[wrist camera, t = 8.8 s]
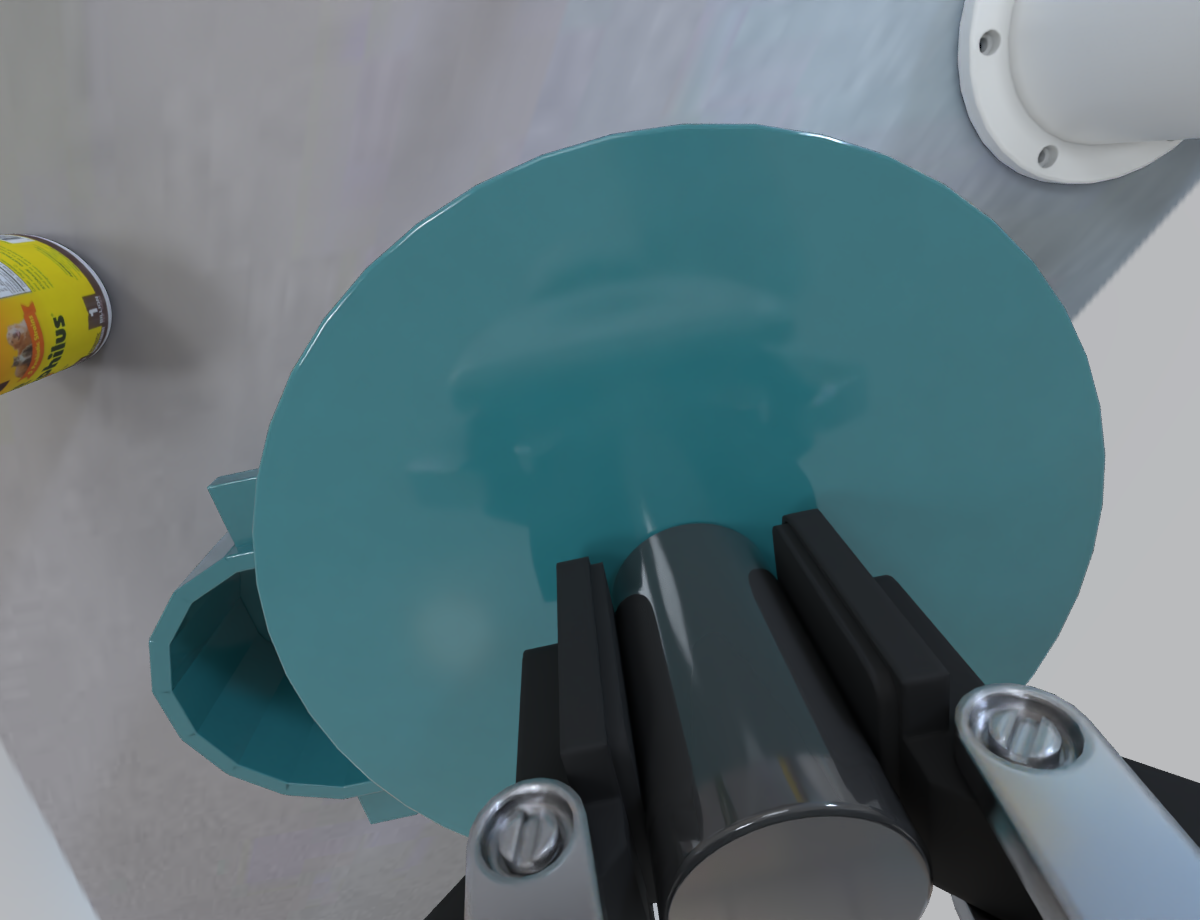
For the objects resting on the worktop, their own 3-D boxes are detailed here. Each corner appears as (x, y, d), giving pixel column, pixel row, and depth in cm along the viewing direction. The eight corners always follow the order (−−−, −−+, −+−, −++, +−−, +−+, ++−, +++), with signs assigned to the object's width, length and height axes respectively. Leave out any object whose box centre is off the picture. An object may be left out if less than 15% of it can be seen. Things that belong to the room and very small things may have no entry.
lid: (1097, 30, 10) (2043, -215, 4) (1031, 751, 16) (1343, 1126, 9) (123, 243, 10) (-573, 359, 4) (421, 876, 16) (342, 1322, 10)
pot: (436, 390, 32) (407, 450, 25) (530, 693, 39) (528, 803, 32) (157, 450, 32) (50, 527, 25) (304, 741, 39) (254, 861, 32)
